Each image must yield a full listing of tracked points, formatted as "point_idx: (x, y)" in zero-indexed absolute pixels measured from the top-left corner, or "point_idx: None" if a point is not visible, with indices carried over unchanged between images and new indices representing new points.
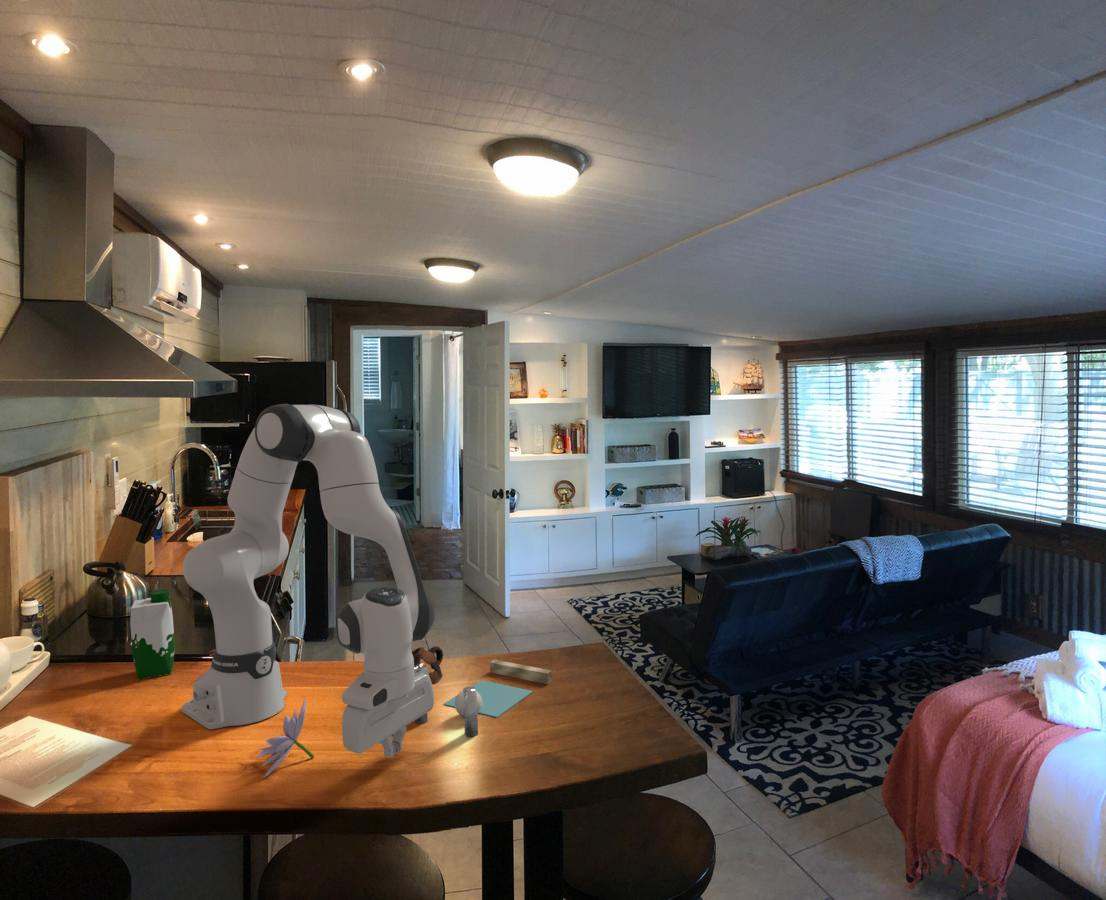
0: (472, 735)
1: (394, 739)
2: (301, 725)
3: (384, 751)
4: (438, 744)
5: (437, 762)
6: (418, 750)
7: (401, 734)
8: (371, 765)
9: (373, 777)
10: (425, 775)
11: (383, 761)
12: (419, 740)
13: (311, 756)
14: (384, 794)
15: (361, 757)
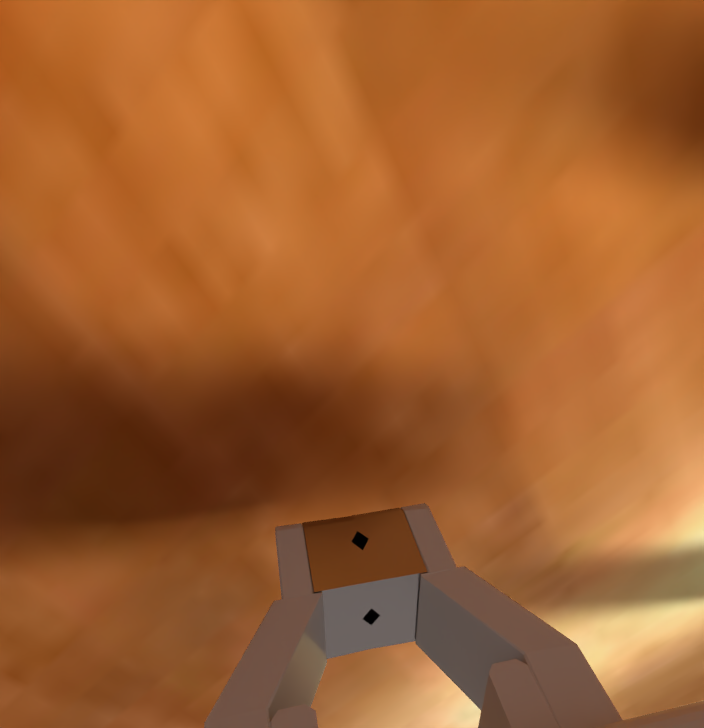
0: None
1: (433, 608)
2: None
3: (279, 559)
4: (651, 521)
5: None
6: (548, 486)
7: (482, 704)
8: (195, 383)
9: (80, 531)
10: (316, 696)
11: (305, 413)
12: (683, 392)
13: None
14: (6, 708)
15: (241, 173)
